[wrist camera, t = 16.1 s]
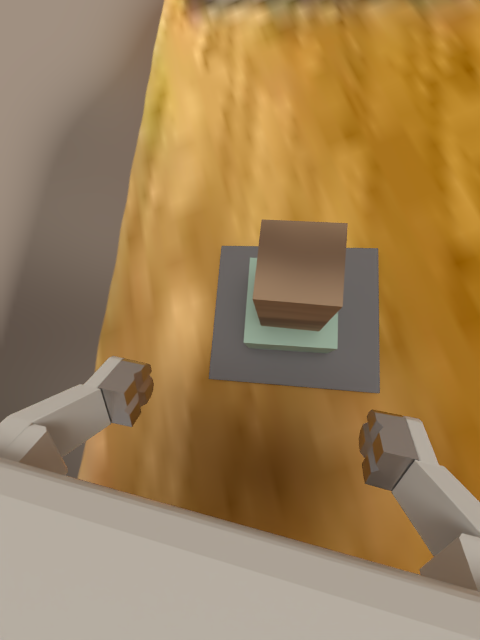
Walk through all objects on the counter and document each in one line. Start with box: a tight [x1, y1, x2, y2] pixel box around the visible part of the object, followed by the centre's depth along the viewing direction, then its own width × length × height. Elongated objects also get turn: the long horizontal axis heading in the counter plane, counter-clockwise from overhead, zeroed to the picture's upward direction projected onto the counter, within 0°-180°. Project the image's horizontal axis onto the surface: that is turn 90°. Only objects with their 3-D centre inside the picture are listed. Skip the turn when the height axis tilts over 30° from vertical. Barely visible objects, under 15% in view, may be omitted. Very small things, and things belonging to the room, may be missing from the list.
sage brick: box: [244, 258, 338, 353], centre depth 28 cm, size 8×8×5 cm
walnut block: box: [253, 220, 348, 331], centre depth 21 cm, size 5×5×9 cm
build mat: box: [209, 246, 380, 393], centre depth 30 cm, size 15×17×1 cm
